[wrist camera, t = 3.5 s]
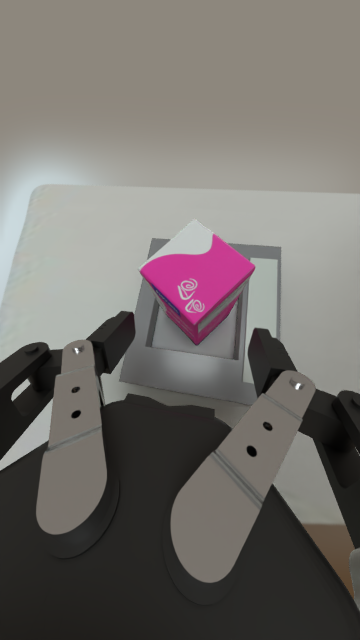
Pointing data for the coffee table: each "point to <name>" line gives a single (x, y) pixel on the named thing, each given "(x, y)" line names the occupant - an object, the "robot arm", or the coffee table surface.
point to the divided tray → (201, 370)
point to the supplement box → (197, 279)
